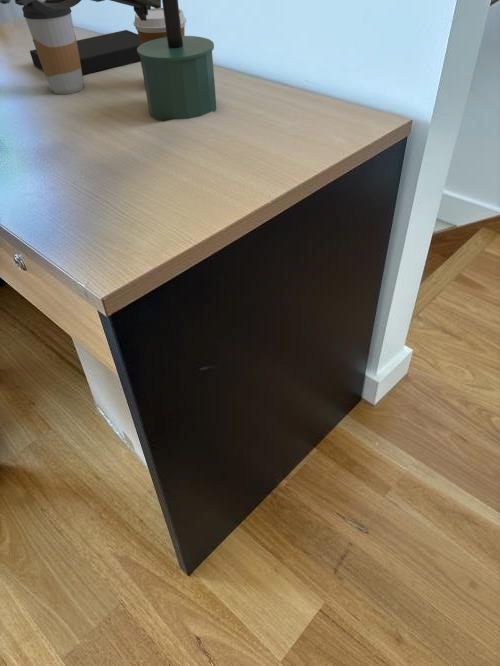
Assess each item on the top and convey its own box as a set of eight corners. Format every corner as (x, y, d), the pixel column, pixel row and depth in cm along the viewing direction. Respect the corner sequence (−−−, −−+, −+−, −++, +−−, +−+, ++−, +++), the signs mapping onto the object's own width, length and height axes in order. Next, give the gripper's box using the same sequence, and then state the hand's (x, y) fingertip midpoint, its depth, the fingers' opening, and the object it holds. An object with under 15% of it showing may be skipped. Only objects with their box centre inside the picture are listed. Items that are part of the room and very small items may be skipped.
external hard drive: (158, 56, 112) (156, 41, 110) (58, 81, 103) (54, 65, 101) (128, 43, 121) (125, 29, 119) (33, 65, 111) (29, 50, 109)
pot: (142, 105, 91) (131, 46, 85) (202, 93, 95) (196, 36, 88) (162, 127, 84) (152, 65, 77) (226, 113, 87) (222, 52, 80)
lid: (129, 50, 85) (116, -23, 78) (198, 39, 89) (191, -32, 82) (151, 70, 77) (138, -9, 70) (226, 57, 81) (221, -20, 74)
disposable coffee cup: (134, 85, 99) (121, 14, 91) (173, 73, 104) (164, 4, 96) (163, 96, 94) (152, 22, 86) (203, 83, 99) (196, 11, 91)
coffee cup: (97, 88, 99) (76, -3, 89) (58, 99, 95) (32, 6, 85) (76, 78, 104) (54, -9, 93) (38, 89, 100) (10, -1, 89)
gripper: (-74, -3, 52) (7, 35, 72) (170, 5, 54) (184, 41, 74) (-90, -92, 50) (-1, -27, 70) (167, -82, 51) (182, -21, 71)
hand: (94, 8), depth 72 cm, fingers open, 13 cm apart
